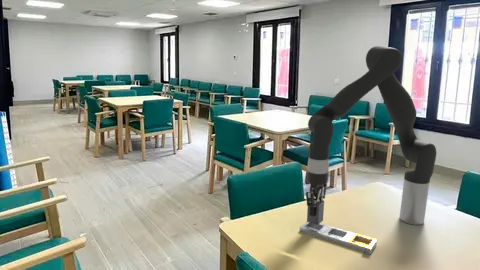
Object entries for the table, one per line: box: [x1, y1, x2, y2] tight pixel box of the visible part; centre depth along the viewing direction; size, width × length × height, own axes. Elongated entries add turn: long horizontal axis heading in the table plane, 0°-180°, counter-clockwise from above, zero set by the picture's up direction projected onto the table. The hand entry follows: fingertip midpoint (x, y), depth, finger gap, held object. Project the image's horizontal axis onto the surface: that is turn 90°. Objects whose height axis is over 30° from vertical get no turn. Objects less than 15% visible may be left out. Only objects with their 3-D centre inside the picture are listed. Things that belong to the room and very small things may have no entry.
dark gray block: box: [306, 199, 325, 225], centre depth 136 cm, size 4×4×9 cm
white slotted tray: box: [299, 221, 378, 256], centre depth 132 cm, size 8×26×2 cm, turn 55°
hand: (315, 212), depth 136 cm, fingers closed on dark gray block, 4 cm apart
